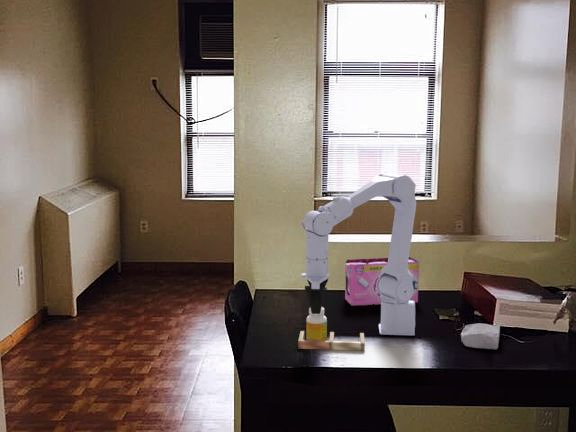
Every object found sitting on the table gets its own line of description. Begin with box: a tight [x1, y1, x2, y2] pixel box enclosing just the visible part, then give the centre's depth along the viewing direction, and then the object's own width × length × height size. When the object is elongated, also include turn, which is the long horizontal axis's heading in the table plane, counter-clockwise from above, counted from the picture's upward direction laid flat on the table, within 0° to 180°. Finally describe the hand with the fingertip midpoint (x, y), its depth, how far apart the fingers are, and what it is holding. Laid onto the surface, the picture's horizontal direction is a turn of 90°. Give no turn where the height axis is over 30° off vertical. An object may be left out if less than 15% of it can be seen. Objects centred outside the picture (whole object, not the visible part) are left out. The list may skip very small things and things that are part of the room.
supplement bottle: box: [305, 306, 328, 341], centre depth 167 cm, size 5×5×10 cm
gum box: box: [344, 256, 420, 306], centre depth 207 cm, size 24×8×14 cm, turn 101°
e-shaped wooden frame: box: [297, 330, 366, 352], centre depth 167 cm, size 17×8×2 cm, turn 85°
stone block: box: [460, 322, 501, 350], centre depth 170 cm, size 12×5×10 cm
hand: (316, 308), depth 166 cm, fingers open, 7 cm apart
